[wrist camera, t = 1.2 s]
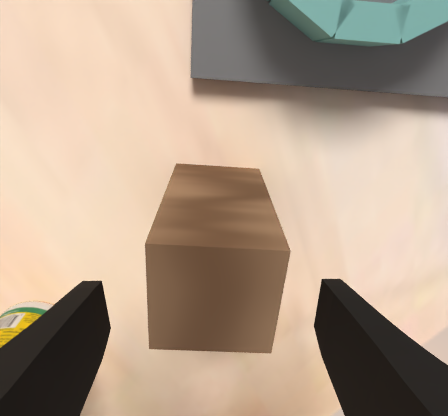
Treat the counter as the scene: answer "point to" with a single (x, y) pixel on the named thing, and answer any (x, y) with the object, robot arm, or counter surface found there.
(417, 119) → the counter surface
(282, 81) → the collar
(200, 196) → the walnut peg
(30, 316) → the supplement bottle
